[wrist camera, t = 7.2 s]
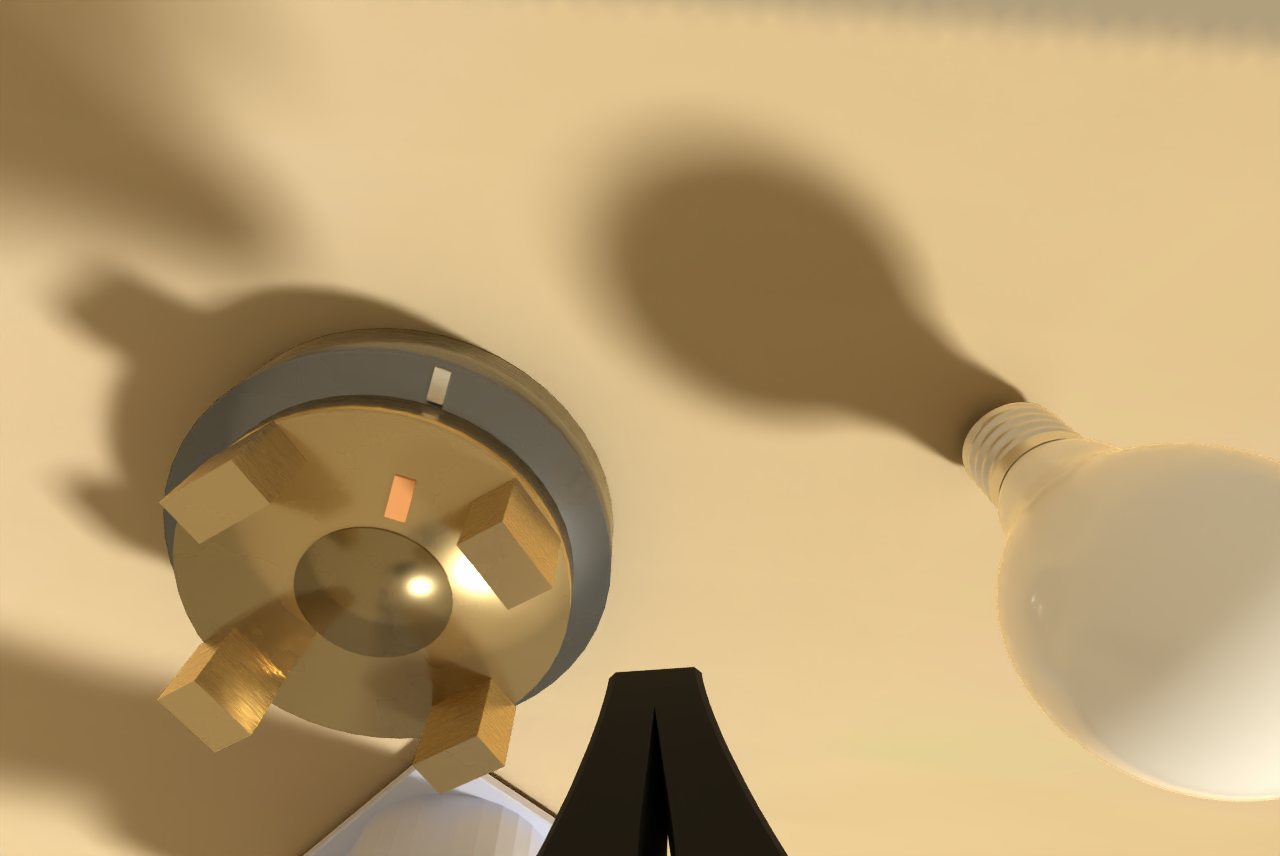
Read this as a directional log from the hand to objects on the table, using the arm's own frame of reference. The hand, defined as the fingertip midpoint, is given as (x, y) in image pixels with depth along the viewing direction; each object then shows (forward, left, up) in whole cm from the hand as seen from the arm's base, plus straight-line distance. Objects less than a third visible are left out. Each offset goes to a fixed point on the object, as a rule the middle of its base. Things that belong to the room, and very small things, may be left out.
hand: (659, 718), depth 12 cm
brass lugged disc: (-7, +3, -8) cm, 11 cm away
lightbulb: (+7, -7, -11) cm, 15 cm away
